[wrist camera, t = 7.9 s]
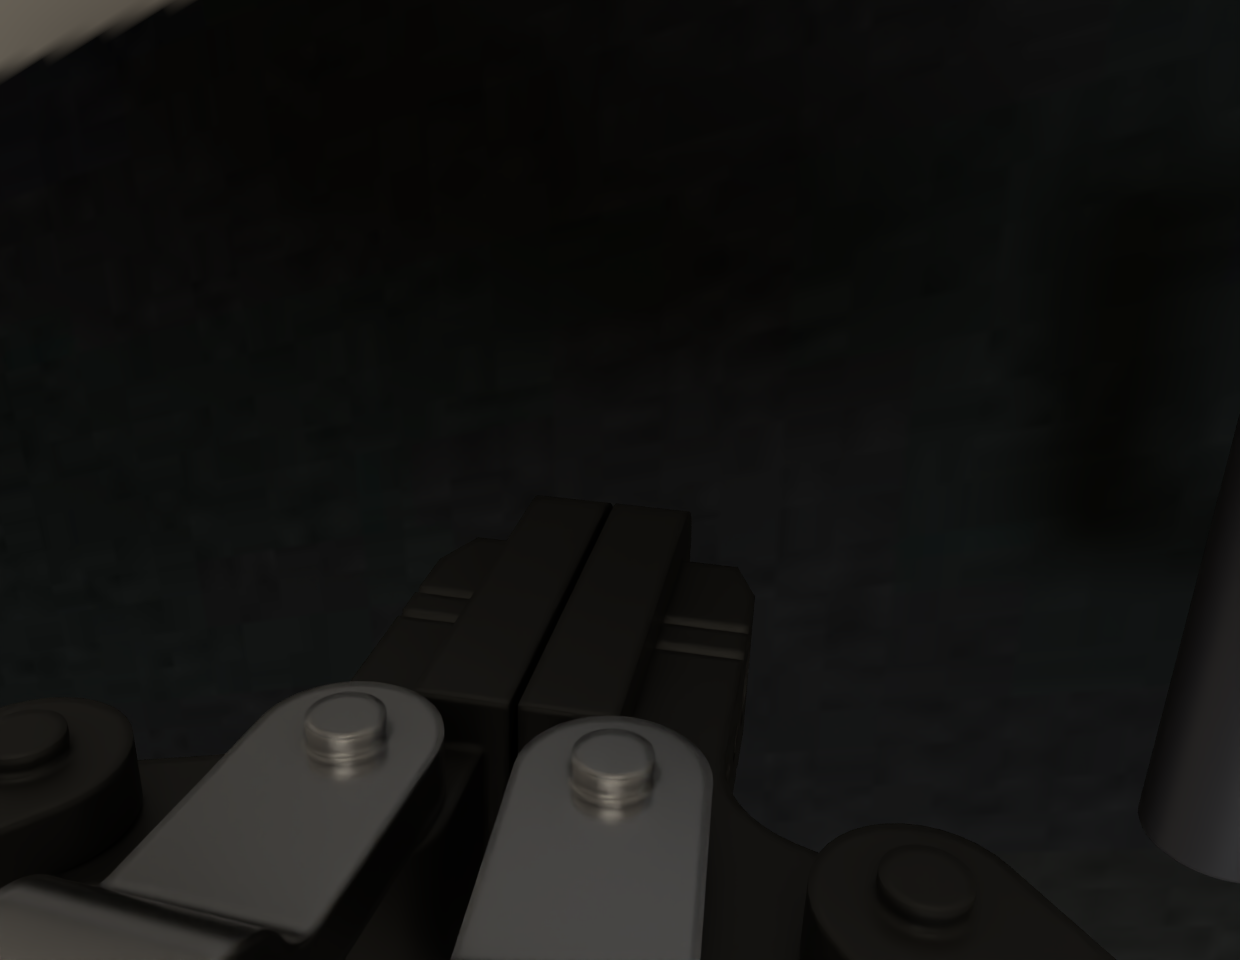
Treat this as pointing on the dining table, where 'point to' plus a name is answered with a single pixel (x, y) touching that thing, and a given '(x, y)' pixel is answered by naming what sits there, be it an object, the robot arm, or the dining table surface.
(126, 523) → the dining table surface
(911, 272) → the dining table surface
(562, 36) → the dining table surface
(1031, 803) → the dining table surface
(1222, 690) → the fryer drawer
